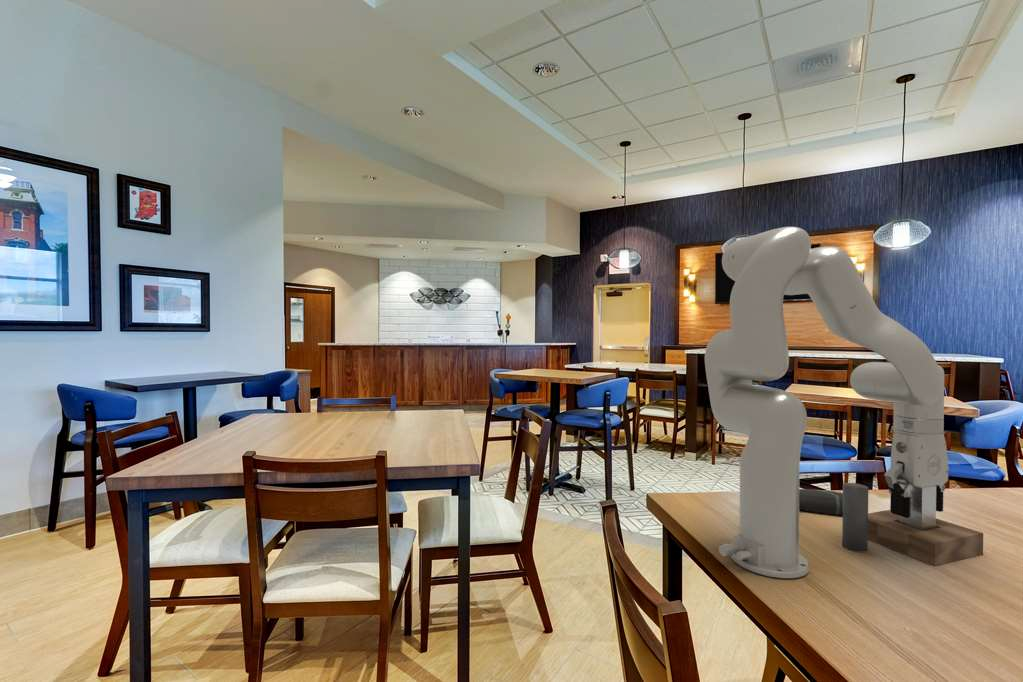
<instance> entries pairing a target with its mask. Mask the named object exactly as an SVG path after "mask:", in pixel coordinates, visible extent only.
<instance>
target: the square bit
mask: <svg viewBox="0 0 1023 682" xmlns="http://www.w3.org/2000/svg"><path fill="white" fill-rule="evenodd" d="M899 485H900V486H901V487H902V489H903V488H904V486H905V485H901V484H899ZM907 497H911V504H910V518H905V517H902V516H899V523H901V524H904V525H907V526H910V527H913V528H916V529H919V530H922V531H927V530H931V529H936V519H937V511H936V486H930V487H924V488H917V487H915V486H914V485H913V487H912V489H911V491H910V493H909V494H908V496H907Z"/></svg>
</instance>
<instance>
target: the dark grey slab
mask: <svg viewBox="0 0 1023 682" xmlns="http://www.w3.org/2000/svg"><path fill="white" fill-rule="evenodd" d="M803 510H804V512H809V513H816V514H817V513H818V514H822V513H823V514H825V515H832V514H833V515H834V516H843V492H838V491H833V490H822V489H811V488H799V511H803ZM833 515H832V516H833Z"/></svg>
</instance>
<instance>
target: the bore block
mask: <svg viewBox="0 0 1023 682" xmlns="http://www.w3.org/2000/svg"><path fill="white" fill-rule="evenodd" d="M868 541H870V542H871V543H875V544H877V545H879V546H882V547H886V548H888V549H890V550H893V551H895V552H898V553H901V554H903V555H906V556H909V557H911V558H914V559H916V560H919V561H921V562H923V563H926V564H929V565H931V566H934V567H937V566H940V565H945V564H949V563H953V562H957V561H961V560H964V559H969V558H972V557H977V556H981V555H983V554H984V532H981V531H979V530H975V529H971V528H968V527H965V526H962V525H958V524H955V523H952V522H949V521H946V520H942V519H939V518H936V529H931V530H927V531H922V530H919V529H916V528H913V527H910V526H907V525H904V524H901V523H899V515H896V514H893V513H891V511H890V509H886V510H880V511H879V510H878V511H873V512H868Z"/></svg>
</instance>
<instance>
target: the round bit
mask: <svg viewBox="0 0 1023 682" xmlns="http://www.w3.org/2000/svg"><path fill="white" fill-rule="evenodd" d="M842 493H843V515H842V525H841V526H842V527H841V528H842V532H841V533H842V536H841V537H842V540H841V542H842V543H841V544H842V547H843V548H845V549H846V550H850V551H853V552H857V553H867V552H868V549H869V548H868V546H869V545H868V544H869V540H868V513H869V486H868V485H867V486H866V485H863V484H861V483H855V482H844V483H842Z"/></svg>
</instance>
